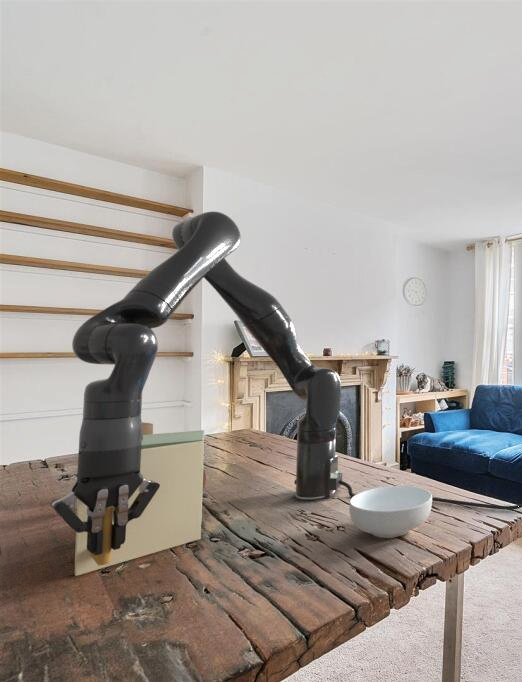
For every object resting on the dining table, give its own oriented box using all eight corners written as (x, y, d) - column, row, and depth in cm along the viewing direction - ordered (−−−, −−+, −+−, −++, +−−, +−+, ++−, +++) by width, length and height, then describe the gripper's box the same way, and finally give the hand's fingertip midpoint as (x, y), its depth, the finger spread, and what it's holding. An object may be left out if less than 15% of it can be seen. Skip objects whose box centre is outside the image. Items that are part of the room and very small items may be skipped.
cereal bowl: (445, 521, 96) (446, 489, 96) (403, 554, 80) (404, 516, 80) (381, 510, 101) (382, 480, 101) (330, 540, 85) (331, 504, 86)
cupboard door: (212, 547, 81) (215, 445, 82) (83, 588, 67) (87, 464, 68) (198, 537, 85) (201, 440, 86) (74, 574, 71) (78, 458, 72)
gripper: (153, 434, 78) (148, 530, 77) (43, 448, 66) (37, 561, 65) (172, 440, 74) (166, 541, 73) (58, 455, 62) (52, 576, 62)
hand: (105, 550), depth 69 cm, fingers closed on cupboard door, 2 cm apart
